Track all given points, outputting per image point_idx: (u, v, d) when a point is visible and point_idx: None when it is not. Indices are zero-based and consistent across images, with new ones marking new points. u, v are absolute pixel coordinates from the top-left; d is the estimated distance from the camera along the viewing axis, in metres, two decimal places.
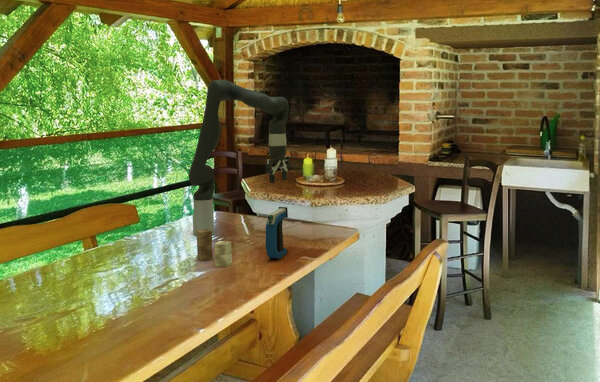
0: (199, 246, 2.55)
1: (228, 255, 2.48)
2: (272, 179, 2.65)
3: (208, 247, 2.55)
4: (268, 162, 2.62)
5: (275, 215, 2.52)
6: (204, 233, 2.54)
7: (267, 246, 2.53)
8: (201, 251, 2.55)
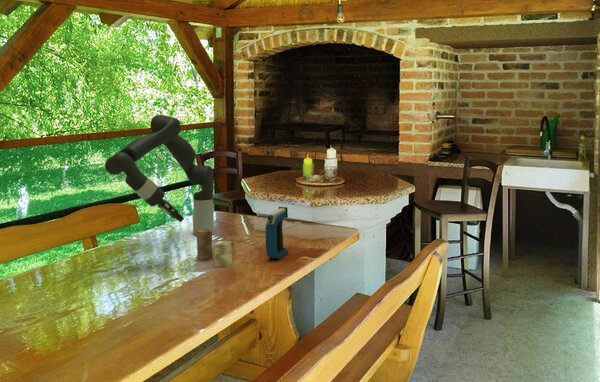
0: (199, 246, 2.55)
1: (228, 255, 2.48)
2: None
3: (208, 247, 2.55)
4: None
5: (275, 215, 2.52)
6: (204, 233, 2.54)
7: (267, 246, 2.53)
8: (201, 251, 2.55)
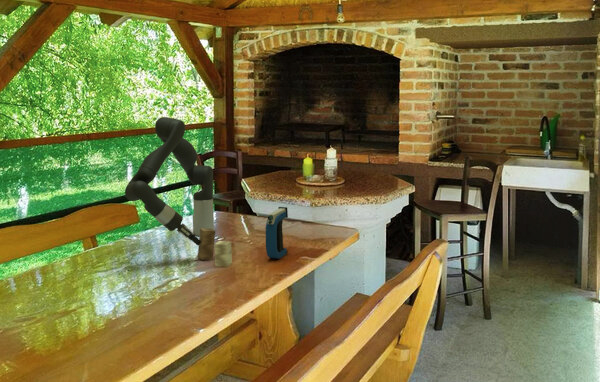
0: (201, 244, 2.56)
1: (228, 255, 2.48)
2: None
3: (210, 247, 2.56)
4: None
5: (275, 215, 2.52)
6: (208, 232, 2.54)
7: (267, 246, 2.53)
8: (202, 249, 2.55)
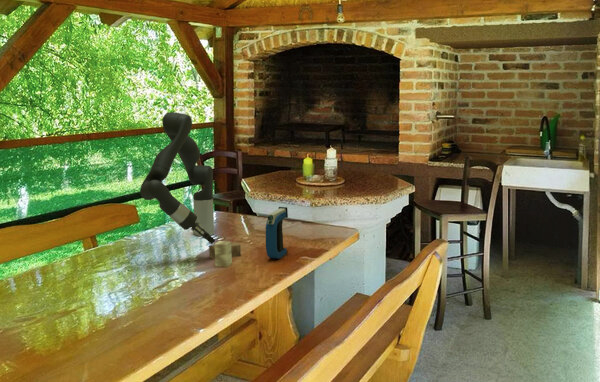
0: None
1: (228, 255, 2.48)
2: None
3: None
4: None
5: (275, 215, 2.52)
6: (239, 249, 2.61)
7: (267, 246, 2.53)
8: None
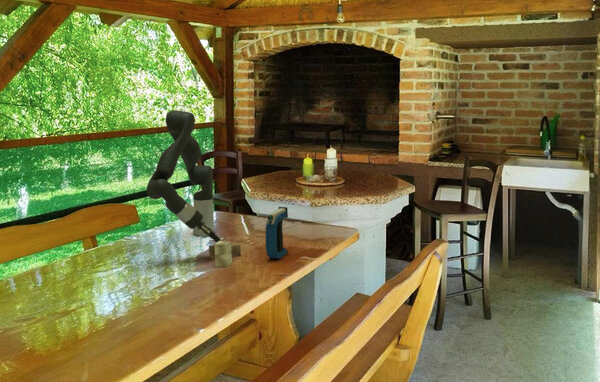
0: None
1: (228, 255, 2.48)
2: None
3: None
4: None
5: (275, 215, 2.52)
6: (239, 249, 2.61)
7: (267, 246, 2.53)
8: None
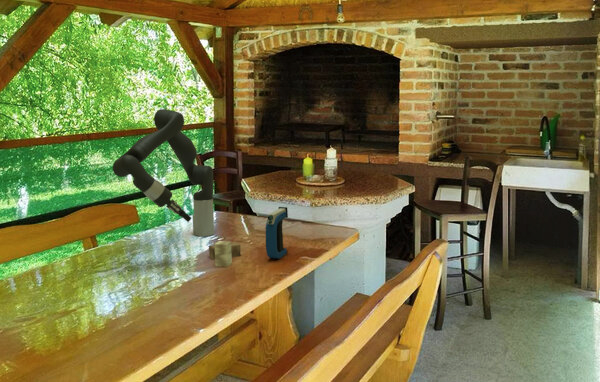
0: None
1: (228, 255, 2.48)
2: None
3: None
4: None
5: (275, 215, 2.52)
6: (239, 249, 2.62)
7: (267, 246, 2.53)
8: None
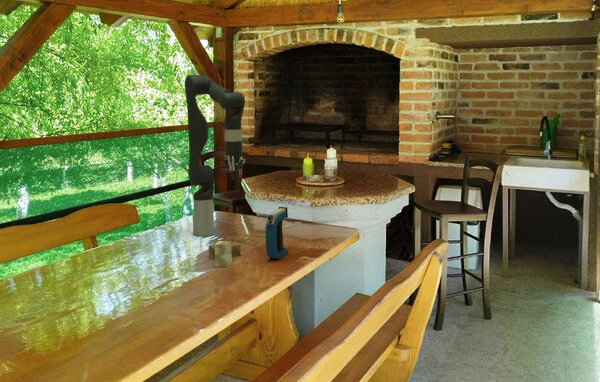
0: None
1: (228, 255, 2.48)
2: (231, 175, 2.72)
3: None
4: None
5: (275, 215, 2.52)
6: (239, 249, 2.62)
7: (267, 246, 2.53)
8: None
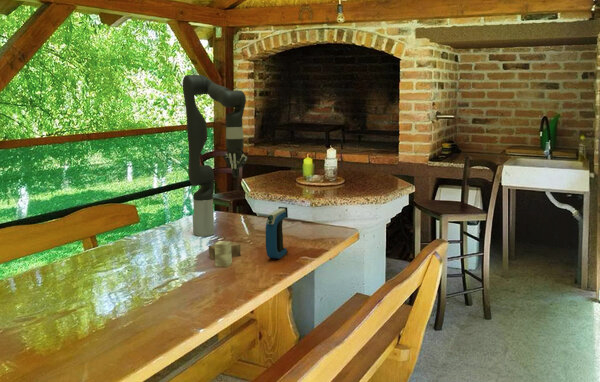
0: None
1: (228, 255, 2.48)
2: (232, 173, 2.72)
3: None
4: None
5: (275, 215, 2.52)
6: (239, 249, 2.62)
7: (267, 246, 2.53)
8: None
